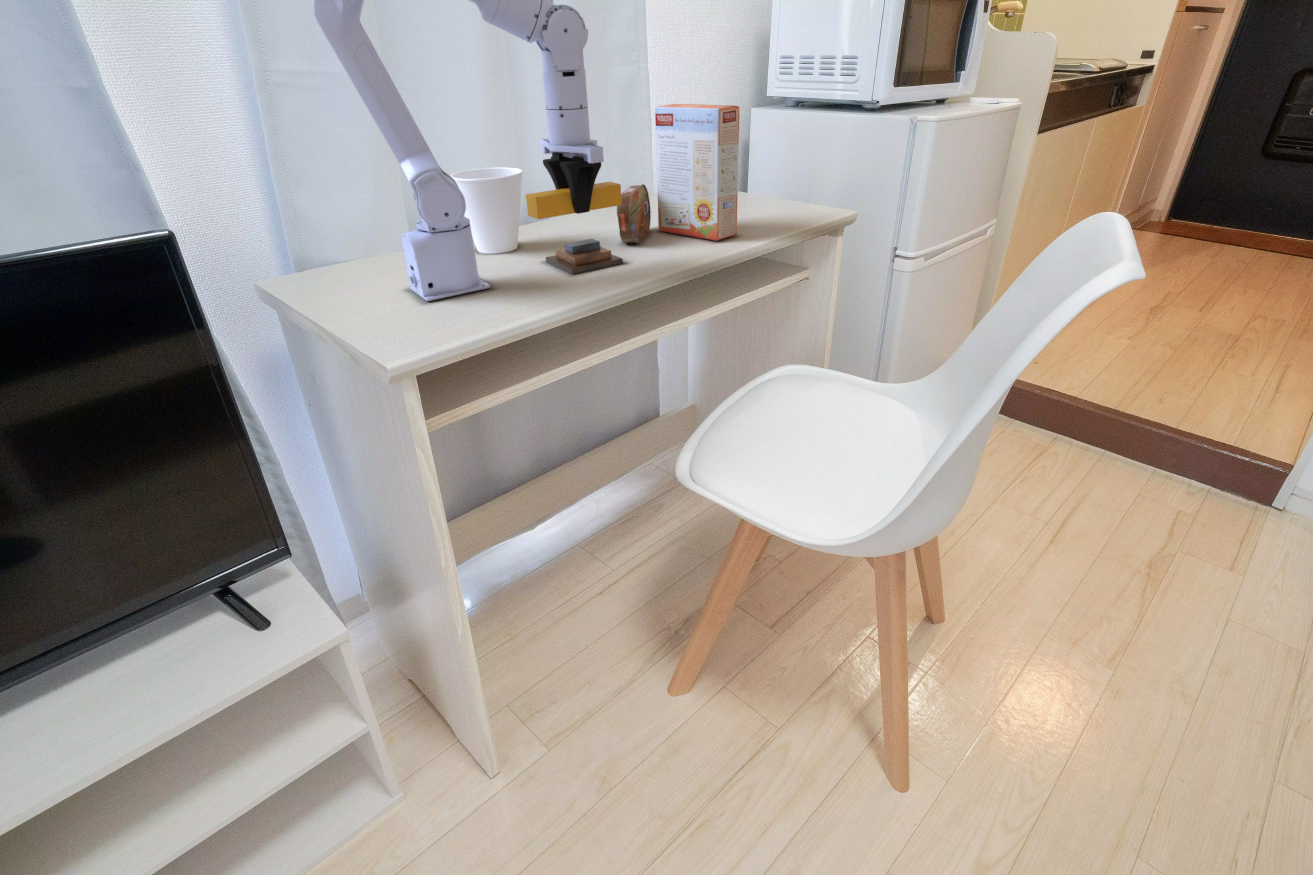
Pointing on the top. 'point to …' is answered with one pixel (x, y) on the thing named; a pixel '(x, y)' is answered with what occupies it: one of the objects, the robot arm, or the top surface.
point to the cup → (492, 206)
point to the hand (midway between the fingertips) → (576, 210)
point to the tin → (634, 214)
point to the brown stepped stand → (583, 257)
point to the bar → (562, 204)
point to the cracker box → (697, 169)
